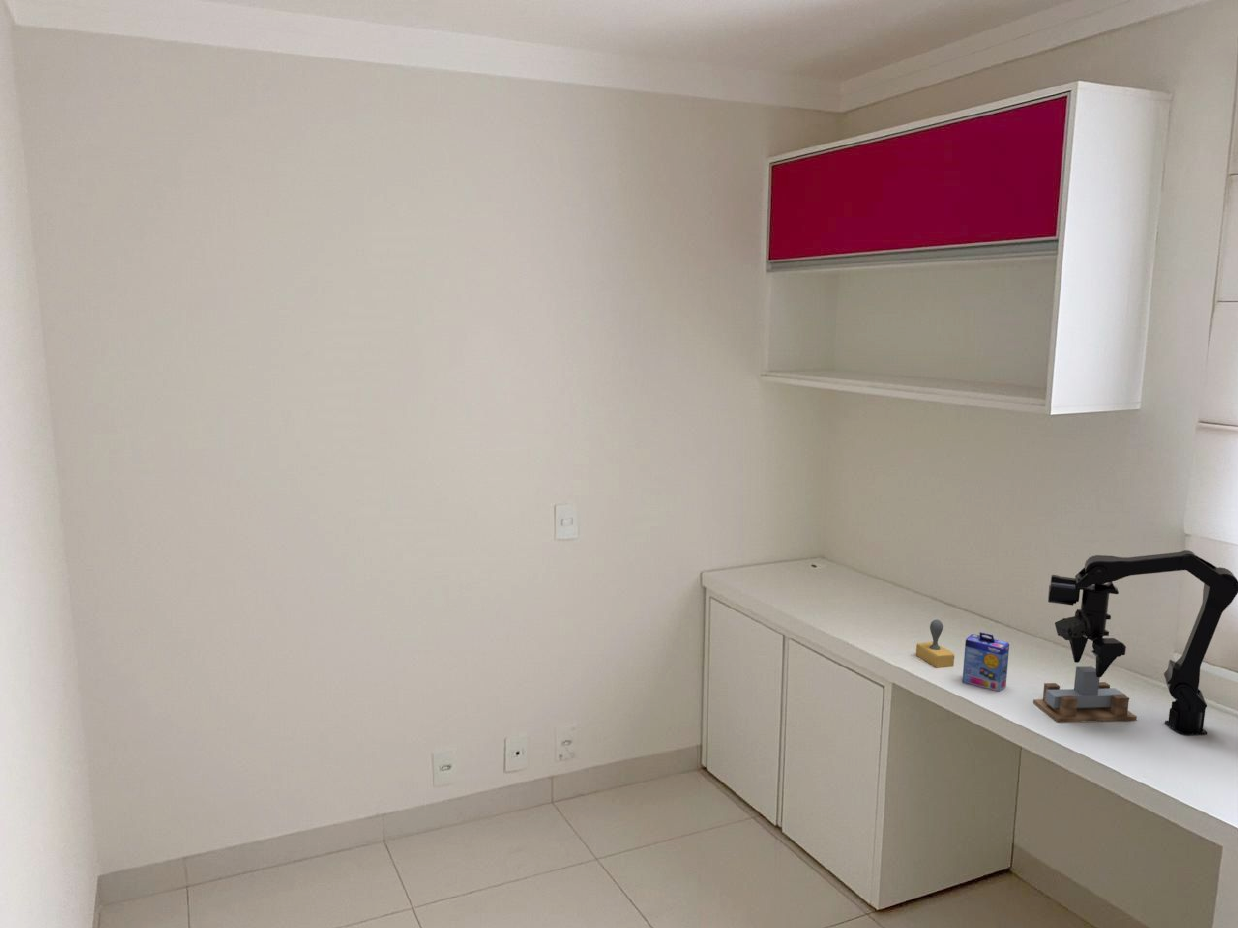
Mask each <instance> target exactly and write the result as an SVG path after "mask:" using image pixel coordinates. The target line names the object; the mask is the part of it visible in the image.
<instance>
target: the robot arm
mask: <svg viewBox="0 0 1238 928" xmlns="http://www.w3.org/2000/svg"><path fill="white" fill-rule="evenodd" d="M1179 571H1181V572H1182V571H1186V572H1188V573H1190V574H1191V575H1192V576H1194V577H1195V578H1196V579H1197V580H1199V581H1201V582H1202V583H1203V590H1202V591H1203V593H1202V603H1201V606H1200V608H1199V611H1198V613H1197V616H1196V619H1195V621H1194V624H1193V626H1192V628H1191V631H1190V633H1189V636H1188V640H1187V642H1186V644H1185V646H1184V649H1183V652H1182V655H1181V656H1180V658H1179V659H1177V661H1174V660H1172V659H1169V661H1168V666H1167V669H1166V670H1165V672H1163V676H1164V678H1165V683H1166V686H1167V689H1168V692H1169V694H1170V696H1171V697H1172V698H1173V699H1175V701H1173V700H1172V702H1171V707H1169V714H1168V720H1165V721H1164V724H1165V725H1166V726H1169V727H1170V728H1172V729H1173V730H1174V731H1176V732H1177V733H1179V734H1180V735H1183V736H1185V735H1186V736H1188V735H1189V736H1190V735H1193V736H1194V735H1208V733H1209V731H1207V730H1205V729H1204V725H1205V717H1206V710H1207V707H1208V705H1207V702H1206V700H1205V697H1204V695H1203V692H1202V690H1201V689H1199V685H1200V679H1201V676H1200V675H1201V667H1202V664H1203V661H1204V659H1205V656H1206V653H1207V651H1208V649H1209V647H1210V644H1211V641H1212V639H1213V636H1214V635H1215V634H1214V633H1215V631H1216V629H1217V626H1218V624H1219V622H1220V619H1221V616H1222V614H1223V612H1225V610H1226V609H1227V608H1228V607H1230V605H1231V604H1232V603H1233V601H1234V599H1235V598H1236V597H1237V595H1238V579H1237V577H1236V576H1235V575H1234V573H1233V571H1231V570H1230V569H1228V568H1225V567H1217V566H1215V565H1214V564H1212V563H1211V562H1209V561H1207V560H1206V559H1203V558H1201V557H1200V556H1198V555H1197V554H1195V553H1194V552H1193V551H1191V550H1188V549H1187V550H1185V549H1184V550H1182V551H1181V550H1180V551H1175V552H1166V553H1165V552H1164V553H1159V554H1158V553H1156V554H1148V555H1140V556H1129V557H1125V556H1124V557H1123V556H1114V555H1100V554H1096V555H1091V556H1090V557H1089V558H1088V559H1086V561H1085V564H1084V567H1083V568H1082V569H1081V570H1079V572H1078V573H1076V574H1075V575H1074V577H1067V576H1061V575H1059V574H1058V575H1056V574H1052V575H1051V577H1050V582H1049V583H1050V584H1049V585H1048V597H1047V603H1049V604H1056V605H1057V604H1058V605H1065V606H1074V605H1076V604H1077V603H1079V602H1080V596H1081V603H1080V604H1081V605H1080V608H1077V609H1076V610H1075V613H1074V615H1073V616H1068V617H1063V618H1062V619H1060V620H1058V621H1055V622H1054V625H1055V629H1056V633H1057V636H1058V637H1061V638H1063V640H1065V641H1068V642H1069V645H1070V650H1071V653H1072V658H1073V663H1077V664H1078V663H1080V662H1081V659H1082V656H1083V655H1084V651H1085V649H1086V646H1087V644H1088V640H1089V641H1092V643H1091V648H1092V650H1090V651H1091V653H1092V654H1093V655H1094V656H1095V669H1096V677H1100V678H1102V677H1103V675H1104V674H1105V673H1106V671H1107V670H1108V668H1109V667H1111V665H1112V663H1113V662H1114V661H1115V660H1117V658H1118V657H1121V656H1124V655H1126V650H1127V649H1126V648H1127V646H1126V645H1125V644H1124V643H1123V642H1122V641H1120V640H1118V639H1116V638H1115V637H1109V636H1110V635H1109V634H1110V631H1108V630H1106V626H1107V620H1111V619H1112V615H1111V614H1109V613H1108V608H1109V599H1110V594H1111V595H1112V594H1113V595H1119V593H1120V592H1119V588H1118V587H1117V586H1116V585H1114V582H1116V581H1118V580H1121V579H1124V578H1126V577H1127V578H1128V577H1131V576H1138V575H1150V574H1161V573H1169V572H1179ZM1081 591H1082V594H1081ZM1080 594H1081V595H1080Z"/></svg>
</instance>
